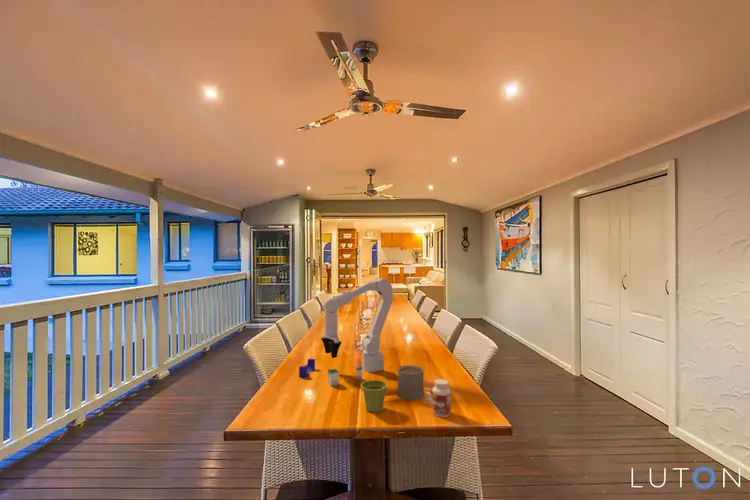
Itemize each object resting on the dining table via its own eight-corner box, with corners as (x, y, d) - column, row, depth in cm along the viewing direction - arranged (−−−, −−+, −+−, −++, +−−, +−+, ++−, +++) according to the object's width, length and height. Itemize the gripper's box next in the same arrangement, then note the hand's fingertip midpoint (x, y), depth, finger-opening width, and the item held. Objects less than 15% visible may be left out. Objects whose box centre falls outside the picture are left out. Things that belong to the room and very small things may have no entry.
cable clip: (305, 371, 162) (305, 358, 162) (314, 371, 162) (314, 358, 162) (295, 380, 150) (295, 366, 150) (305, 381, 150) (305, 367, 150)
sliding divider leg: (335, 382, 144) (335, 368, 144) (338, 385, 141) (338, 371, 141) (328, 383, 143) (328, 369, 143) (331, 386, 140) (331, 372, 140)
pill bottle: (429, 414, 119) (429, 381, 119) (438, 407, 124) (438, 376, 124) (445, 419, 115) (445, 386, 115) (453, 413, 120) (453, 381, 120)
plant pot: (367, 417, 117) (367, 391, 117) (357, 405, 125) (357, 382, 125) (391, 412, 120) (391, 387, 120) (380, 401, 129) (380, 378, 129)
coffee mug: (415, 402, 128) (415, 375, 128) (393, 395, 134) (393, 370, 134) (431, 390, 139) (431, 365, 139) (410, 385, 145) (410, 361, 145)
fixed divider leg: (360, 378, 150) (360, 365, 150) (363, 380, 147) (363, 367, 147) (355, 379, 148) (355, 366, 148) (357, 381, 146) (357, 368, 146)
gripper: (317, 323, 160) (317, 352, 160) (328, 329, 147) (328, 361, 147) (331, 321, 163) (331, 350, 163) (343, 327, 151) (343, 358, 150)
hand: (331, 355), depth 155 cm, fingers open, 7 cm apart
